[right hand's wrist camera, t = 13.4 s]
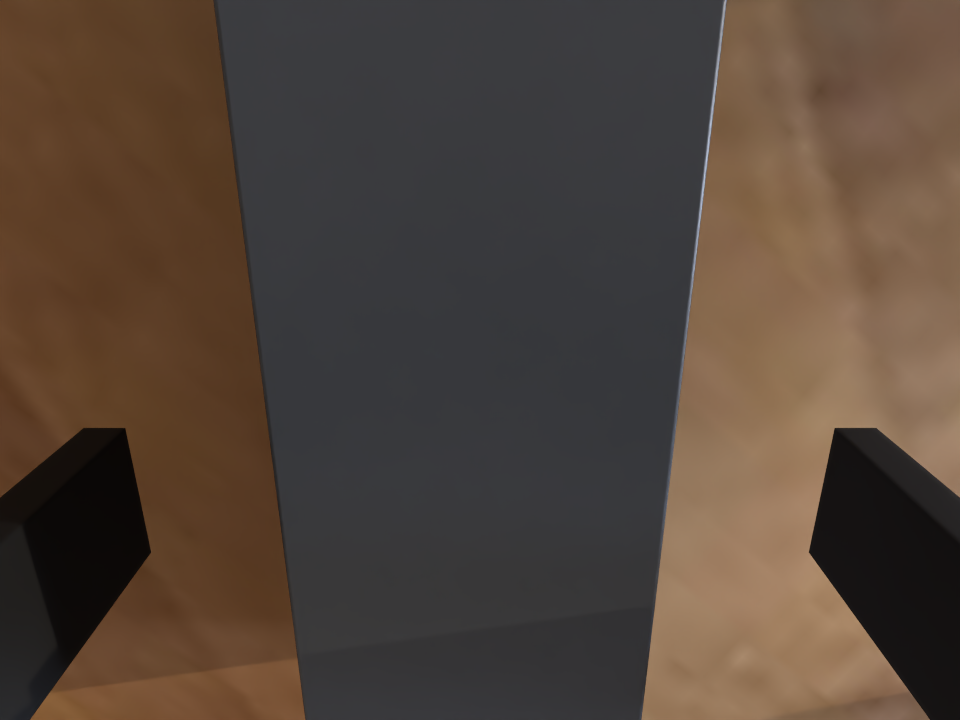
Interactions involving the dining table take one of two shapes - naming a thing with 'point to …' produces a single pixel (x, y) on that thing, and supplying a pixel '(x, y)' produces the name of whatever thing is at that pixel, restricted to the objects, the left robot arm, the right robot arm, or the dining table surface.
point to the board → (471, 334)
